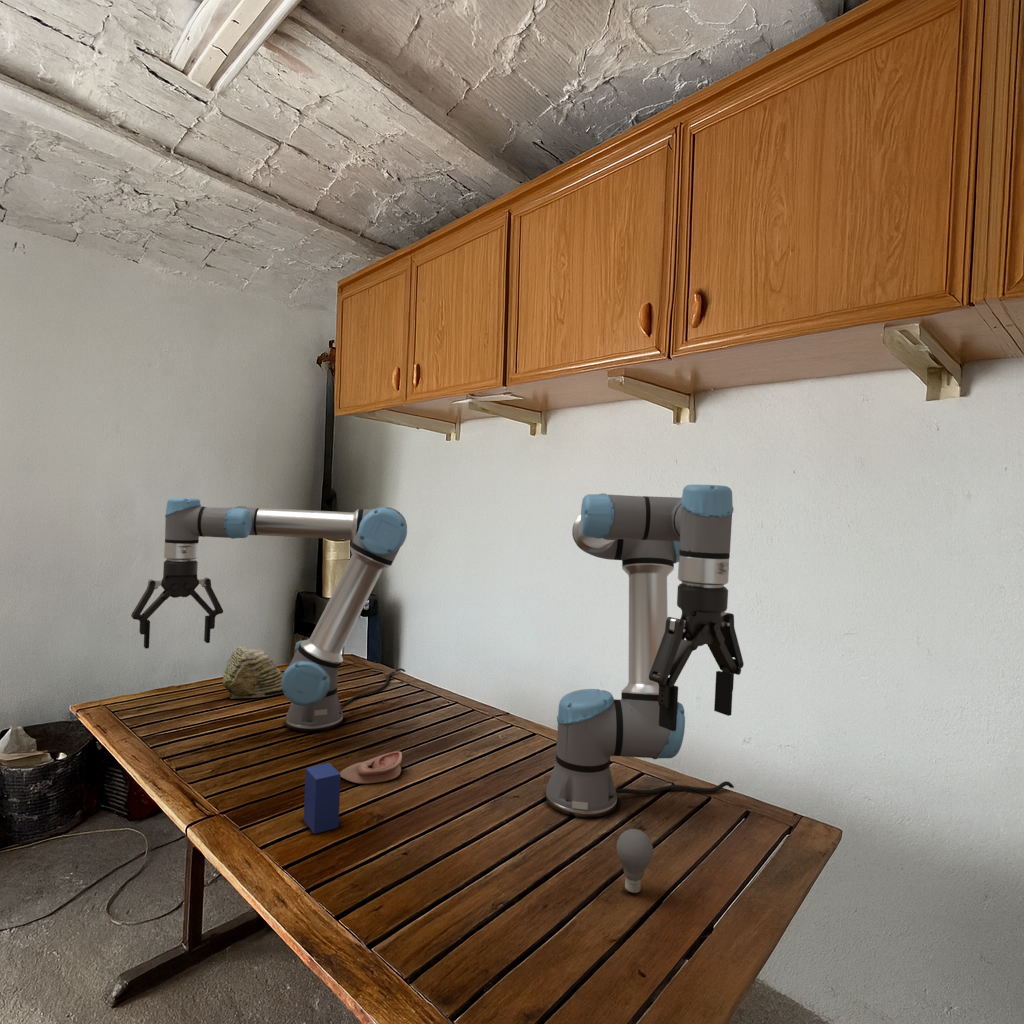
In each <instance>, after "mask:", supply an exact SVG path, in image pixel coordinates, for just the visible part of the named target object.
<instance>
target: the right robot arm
mask: <svg viewBox="0 0 1024 1024" xmlns="http://www.w3.org/2000/svg"><path fill="white" fill-rule="evenodd" d="M580 507H581V508H580V514H579V515H578V517H576V519H575V521H574V522H573V525H572V529H571V530H572V533H571V535H572V539H573V541H574V543H575V544H576V546H577V548H579V549H580V550H581V551H582V552H584V553H586V554H588V555H590V556H593V557H595V558H598V559H604V560H611V561H612V560H613V561H621V569H622V570H623V572H624V573H626V574H627V576H628V683H627V685H626V686H624V688H623V689H622V690H621V694H620V695H621V698H620V699H615V698H614V696H613V694H612V693H611V692H610V691H608V690H605V689H598V688H585V689H578V690H574V691H571V692H568V693H566V694H565V695H563V696H562V697H561V699H560V700H559V703H558V712H557V716H556V722H557V730H556V731H557V732H556V733H557V735H556V750H555V762H554V763H555V764H554V766H553V769H552V772H551V775H550V777H549V780H548V782H547V784H546V789H545V799H546V800H545V801H546V802H547V804H548V805H549V806H550V807H551V808H552V809H554V810H555V811H557V812H559V813H562V814H564V815H567V816H571V817H576V818H586V819H587V818H589V819H591V818H599V817H603V816H607V815H609V814H611V813H613V812H614V811H615V810H616V808H617V803H618V796H617V795H618V794H632V795H652V794H657V793H661V792H665V791H669V790H670V791H671V790H685V791H691V792H698V793H715V792H719V791H720V790H722V789H723V788H725V787H726V786H727V787H729V788H731V789H734V788H735V786H734V785H733V784H732V783H731V782H730V781H729V780H728V781H722V782H721V783H719V784H718V785H716V786H714V787H697V786H691V785H682V784H671V785H664V786H659V787H656V788H650V789H634V788H633V789H632V788H616V786H615V783H614V779H613V775H612V770H611V757H625V758H642V759H643V758H644V759H653V760H658V759H672V758H673V759H674V757H676V756H677V755H678V754H679V752H680V751H681V748H682V745H683V741H684V737H685V736H684V735H685V729H686V716H685V707H684V704H682V703H681V702H679V686H678V685H675V684H676V682H677V681H678V678H679V677H680V675H681V673H682V671H683V670H684V668H685V666H686V664H687V663H688V660H689V658H690V657H691V655H692V653H693V652H694V651H696V650H697V649H698V648H699V647H702V646H705V645H707V647H708V649H709V650H710V654H712V657H713V659H714V660H715V662H716V664H717V666H718V668H719V670H717V671H715V687H714V704H713V705H714V708H713V710H714V712H716V713H719V714H722V715H725V716H727V717H730V716H732V709H733V692H734V683H735V682H734V681H735V675H737V676H739V675H741V673H742V669H743V668H744V666H745V665H744V664H745V663H744V658H743V656H742V651H741V648H740V643H739V640H738V635H737V632H736V629H735V628H736V627H735V615H734V613H732V612H727V611H728V602H729V589H728V588H727V587H726V586H725V585H728V583H729V576H730V575H729V574H730V558H731V554H730V553H731V543H732V525H733V523H732V522H733V513H734V505H733V490H732V489H731V488H730V487H729V486H727V485H719V484H687V485H685V486H684V487H683V488H682V495H681V497H677V496H676V497H675V496H651V495H650V496H648V495H647V496H646V495H642V496H641V495H622V494H608V493H604V492H603V493H590V494H586V495H584V496H583V498H582V501H581V506H580ZM677 563H678V567H677V568H678V569H677V580H679V582H681V583H679V584H678V585H677V593H676V606H677V607H678V608H679V609H680V611H681V614H680V618H677V617H672V616H668V615H669V613H668V576H669V575H670V574H671V573H672V572H673V571H675V564H677Z"/></svg>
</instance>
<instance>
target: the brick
mask: <svg viewBox="0 0 1024 1024" xmlns="http://www.w3.org/2000/svg"><path fill="white" fill-rule="evenodd" d="M304 778H305V780H304V803H303V804H304V806H303V821H304V823H305V824H306V826H307V827H308V828H309V829H310V831H311V832H312V834H314V835H316V834H319V833H323V832H327V831H331V830H334V829H337V828H339V826H340V825H339V824H340V822H339V820H340V798H341V797H340V796H341V795H340V794H341V777H340V771H338V770H337V769H336V768H335V767H334V766H333V765H332V764H331V763H330V762H327V763H322V764H318V765H313V766H308V767H306V768H305V776H304Z"/></svg>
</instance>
